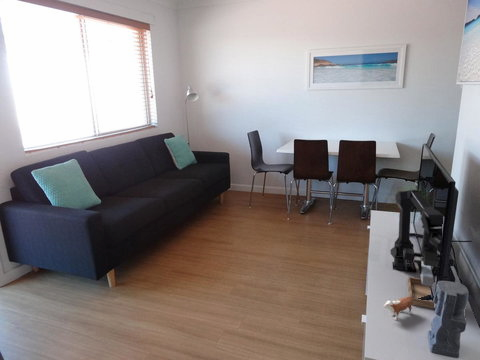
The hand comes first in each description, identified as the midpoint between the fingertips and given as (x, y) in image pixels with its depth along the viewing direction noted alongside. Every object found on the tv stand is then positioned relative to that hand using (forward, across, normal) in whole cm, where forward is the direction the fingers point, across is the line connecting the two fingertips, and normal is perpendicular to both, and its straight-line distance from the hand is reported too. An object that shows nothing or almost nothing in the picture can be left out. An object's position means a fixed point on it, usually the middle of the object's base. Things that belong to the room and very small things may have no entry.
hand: (425, 274), depth 151 cm
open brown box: (+10, 0, 0) cm, 10 cm away
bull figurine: (+10, -10, -18) cm, 23 cm away
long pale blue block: (+1, 0, 0) cm, 1 cm away
